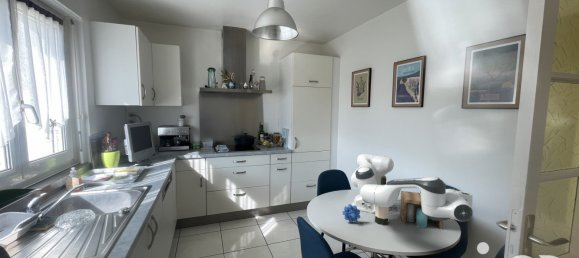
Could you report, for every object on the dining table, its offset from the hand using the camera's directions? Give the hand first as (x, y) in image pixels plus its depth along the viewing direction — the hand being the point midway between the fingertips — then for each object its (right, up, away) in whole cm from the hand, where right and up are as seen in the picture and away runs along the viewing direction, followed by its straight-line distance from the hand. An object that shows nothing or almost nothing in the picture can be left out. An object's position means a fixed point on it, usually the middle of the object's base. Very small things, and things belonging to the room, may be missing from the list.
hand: (441, 189), depth 123 cm
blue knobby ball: (-41, -28, +24) cm, 55 cm away
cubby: (+4, -28, +26) cm, 38 cm away
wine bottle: (-21, -28, +26) cm, 44 cm away
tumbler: (+2, -28, +22) cm, 36 cm away
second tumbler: (-1, -27, +30) cm, 41 cm away
